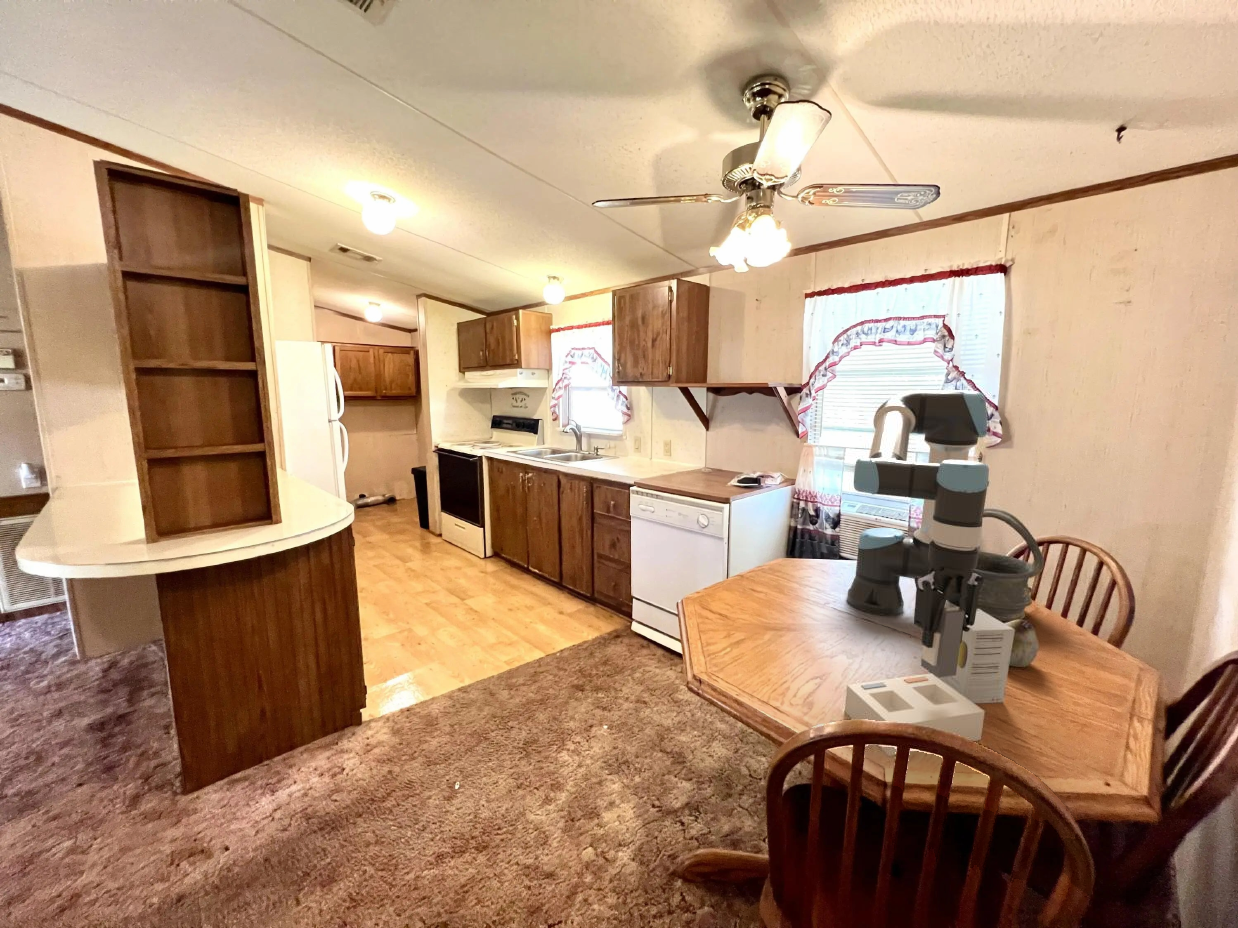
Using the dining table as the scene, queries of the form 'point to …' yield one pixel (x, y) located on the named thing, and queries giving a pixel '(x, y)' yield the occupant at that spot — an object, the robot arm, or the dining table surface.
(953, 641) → the plug
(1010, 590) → the clay pot
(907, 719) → the socket block
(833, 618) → the dining table surface
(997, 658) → the supplement box
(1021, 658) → the fruit
